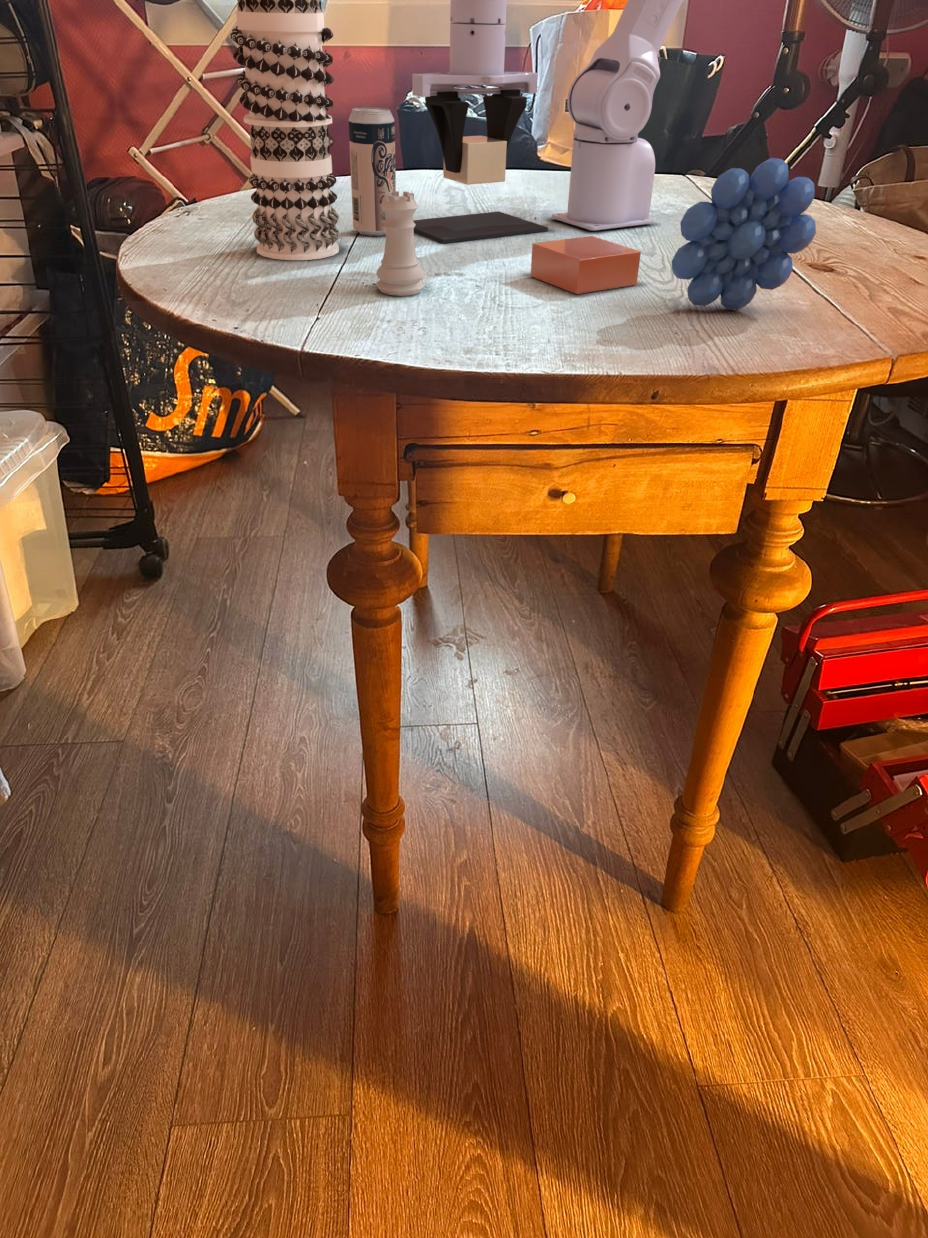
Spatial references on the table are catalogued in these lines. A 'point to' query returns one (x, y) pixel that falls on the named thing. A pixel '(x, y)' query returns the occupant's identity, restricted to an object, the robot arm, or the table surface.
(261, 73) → the decorative candle
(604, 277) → the glossy orange square block
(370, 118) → the beer can
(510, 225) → the rubber mat
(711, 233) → the blue beaded flower
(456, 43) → the robot arm
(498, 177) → the beige cube
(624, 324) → the table surface
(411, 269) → the rook chess piece
